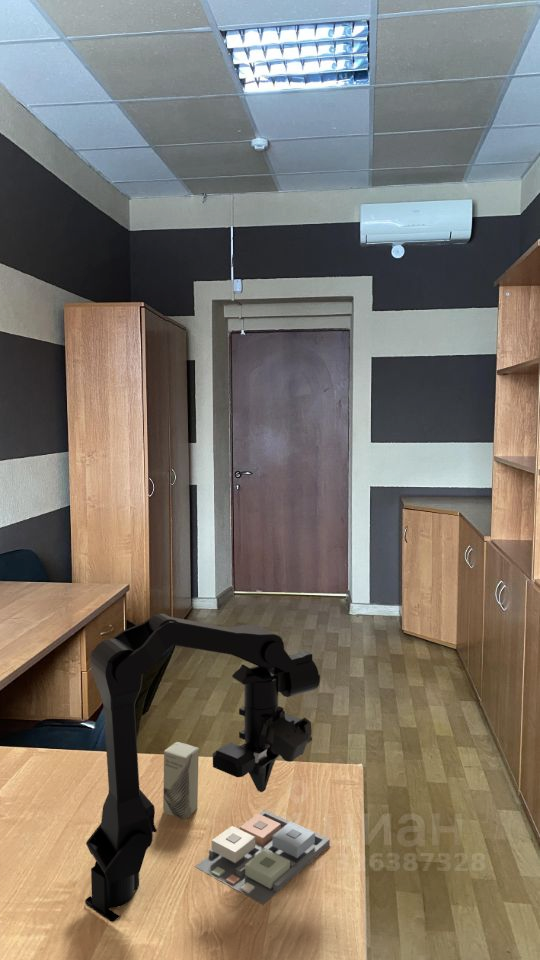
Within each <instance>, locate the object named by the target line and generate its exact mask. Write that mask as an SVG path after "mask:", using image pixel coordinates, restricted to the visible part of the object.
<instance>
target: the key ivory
mask: <svg viewBox="0 0 540 960" xmlns="http://www.w3.org/2000/svg"><path fill="white" fill-rule="evenodd" d="M211 848H212V851H213V852H215V853H217V854H219V855H221V856H223V857H225V858H227V859H229V860H231V861H232V862H234V863H236V862H237V861H239V860H240V859H241V858H242V857H244V856H245V855H246V854H247V853H249V852H250V851H251V850H253V849H254V848H255V837H254V836H252V835H250V834H248V833H246V832H244V831H242V830H240V829H239V828H238V827H235V826H233V825H231V826H229V827H228V828H227V829H225V830H223V832H221V833H220V834H218V835H217V836H216V837H214V838H213V839H212V840H211Z"/></svg>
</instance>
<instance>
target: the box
mask: <svg viewBox="0 0 540 960" xmlns="http://www.w3.org/2000/svg"><path fill="white" fill-rule="evenodd" d="M199 750H200V748H199V747H196V746H194V745H190V744H188V743H183V742H179V741H175V742H174V743H173V744H171V745H169V747H168V748H166V749H165V750H164V751H163V797H162V798H163V800H162V806H163V807H162V812H163V813H164V814H167V815H169V816H173V817H176V818H179V819H182V820H186V819H188V818H189V817H190V816H191V815H192V814H193V813H194V812H195V811H197V809H198V796H199V794H198V793H199V792H198V791H199V790H198V789H199V788H198V787H199Z"/></svg>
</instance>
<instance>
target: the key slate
mask: <svg viewBox="0 0 540 960" xmlns="http://www.w3.org/2000/svg"><path fill="white" fill-rule="evenodd" d="M315 833H316V832H315V831H312V830H310V829H308V828H306V827H303V826H301V825H299V824H297V823H294V822H292V821H290V822H289V823H288V824H287V825H285V826H284V827H283V828H282V829H280V830H279V831H278V832H277V833H275V834H274V835H273V836H272V846H273V847H275V848H277V849H279V850H281V851H284V852H286V853H288V854H290V855H292V856H294V857H296V858H298V857H299V856H300V855H301V854H303V853H304V852H305V851H306V850H307V849H308V848H309V847H311V846H312V845H313V844H314V843H315Z"/></svg>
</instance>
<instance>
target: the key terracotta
mask: <svg viewBox="0 0 540 960" xmlns="http://www.w3.org/2000/svg"><path fill="white" fill-rule="evenodd" d="M239 828H240V830H242V831H244V832H246V833H248V834H250V835H252V836H254V837H255V843H256V844H258V845H260V846H262V847H264V846H265V845H266V844H268V843H269V842H270V841H271V840H272V836H273V835H274V834H275V833H277V832H278V831H279V830H280V829H281V824H280V823H278V822H276V821H274V820H271V819H269V818H267V817H265V816H263V815H260V814H259V813H257V814H255V815H254V816H252V817H251V818H250V819H248V820H247V821H245V822H244V823H243V824H241V825H240V826H239Z"/></svg>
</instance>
